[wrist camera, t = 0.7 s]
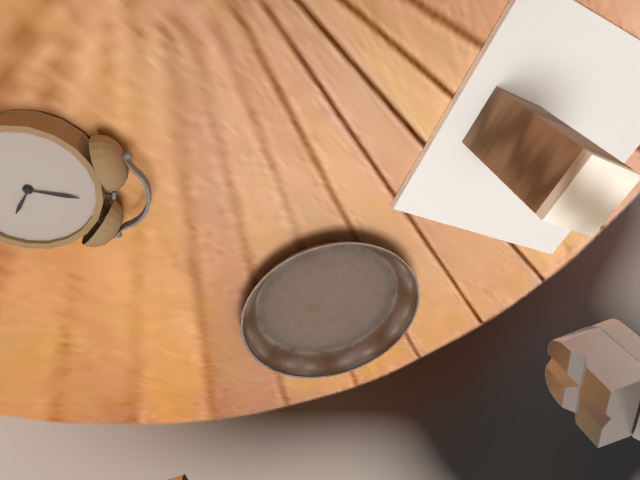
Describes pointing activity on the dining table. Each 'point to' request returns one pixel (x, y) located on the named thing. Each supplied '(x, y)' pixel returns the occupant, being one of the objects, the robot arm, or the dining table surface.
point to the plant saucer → (329, 309)
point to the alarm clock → (60, 183)
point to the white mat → (541, 89)
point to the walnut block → (549, 163)
